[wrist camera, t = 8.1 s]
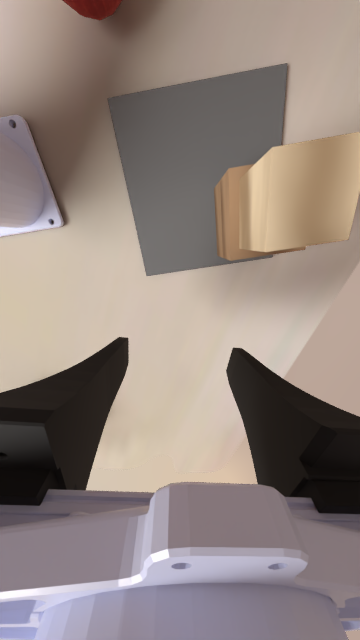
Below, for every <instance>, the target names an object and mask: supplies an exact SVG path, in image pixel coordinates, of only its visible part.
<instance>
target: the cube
mask: <svg viewBox="0 0 360 640" xmlns="http://www.w3.org/2000/svg"><path fill="white" fill-rule="evenodd" d="M359 193H360V132H356V133H350V134H345V135H339V136H333V137H328V138H322V139H316V140H311V141H305V142H299V143H294V144H288V145H283V146H277V147H272V148H271V149H270V150H269V151H268V152H267V153H266V154H265V155H264V156H263V157H262V158H261V159H260V160H259V161H258V162H257V163H256V164H254V165H253V166H252V167H251V168H250V169H249V170H248V171H247V172H246V173H245V174H244V175H243V176H242V177H241V178H240V179H239V249H245V250H252V251H260V252H271V251H277V250H284V249H291V248H297V247H304V246H310V245H317V244H323V243H330V242H336V241H343V240H348V239H349V235H350V231H351V227H352V222H353V218H354V214H355V210H356V205H357V201H358V197H359Z"/></svg>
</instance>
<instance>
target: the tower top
mask: <svg viewBox="0 0 360 640" xmlns="http://www.w3.org/2000/svg"><path fill="white" fill-rule="evenodd" d="M253 165H254V164H251V165H245V166H240V167H234V168H229V169H228V170H227V171H226V173H225V174H224V175H223V177H222V178H221V180H220V191H221V218H222V244H223V258H224V259H227V260H230V261H232V260H239V259H246V258H252V257H259V256H265V255H272V254H279V253H285V252H292V251H298V250H305V247H306V246H304V247H297V248H291V249H284V250H277V251H271V252H260V251H252V250H245V249H239V179H240V178H241V177H242V176H243V175H244V174H245V173H246V172H247V171H248V170H249V169H250V168H251V167H252V166H253Z"/></svg>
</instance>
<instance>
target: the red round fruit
mask: <svg viewBox="0 0 360 640" xmlns="http://www.w3.org/2000/svg"><path fill="white" fill-rule="evenodd" d="M63 1H64V2H65V3H66V4H68V5H69V6H70V7H71V8H73V9H74V10H75V11H76V12H78V13H79V14H80V15H82V16H84V17H88V18H92V19H97V20H102V19H104V18H106V17H108V16H110V15H112V14H113V13H114V12H115V10H116V9H117V7H118V6H119V4H120V3H121V2H122V0H63Z"/></svg>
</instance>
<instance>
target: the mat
mask: <svg viewBox="0 0 360 640" xmlns="http://www.w3.org/2000/svg"><path fill="white" fill-rule="evenodd" d="M286 76H287V63H286V64H281V65H275V66H270V67H265V68H260V69H255V70H250V71H245V72H239V73H234V74H229V75H224V76H219V77H214V78H209V79H204V80H198V81H193V82H188V83H183V84H178V85H173V86H168V87H162V88H157V89H152V90H147V91H142V92H137V93H132V94H127V95H121V96H116V97H111V98H108V103H109V107H110V112H111V116H112V121H113V125H114V130H115V135H116V139H117V144H118V148H119V153H120V157H121V162H122V166H123V171H124V175H125V180H126V184H127V189H128V193H129V198H130V203H131V207H132V212H133V216H134V221H135V225H136V230H137V234H138V239H139V243H140V248H141V252H142V257H143V262H144V266H145V271H146V275H147V276H151V275H158V274H164V273H171V272H178V271H184V270H191V269H198V268H204V267H211V266H218V265H224V264H231V263H238V262H244V261H251V260H258V259H264V258H271V257H273V254H272V255H265V256H259V257H252V258H246V259H239V260H232V261H230V260H227V259H224V258H222V257H219V256H217V239H216V219H215V199H214V188H215V186H216V185H217V184H218V182H219V181H220V180H221V178H222V177H223V175H224V174H225V173H226V171H227V170H228V169H229V168H234V167H240V166H245V165H251V164H256V163H257V162H258V161H259V160H260V159H261V158H262V157H263V156H264V155H265V154H266V153H267V152H268V151H269V150H270V149H271V148H272V147H277V146H281V142H282V129H283V115H284V102H285V89H286Z"/></svg>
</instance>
